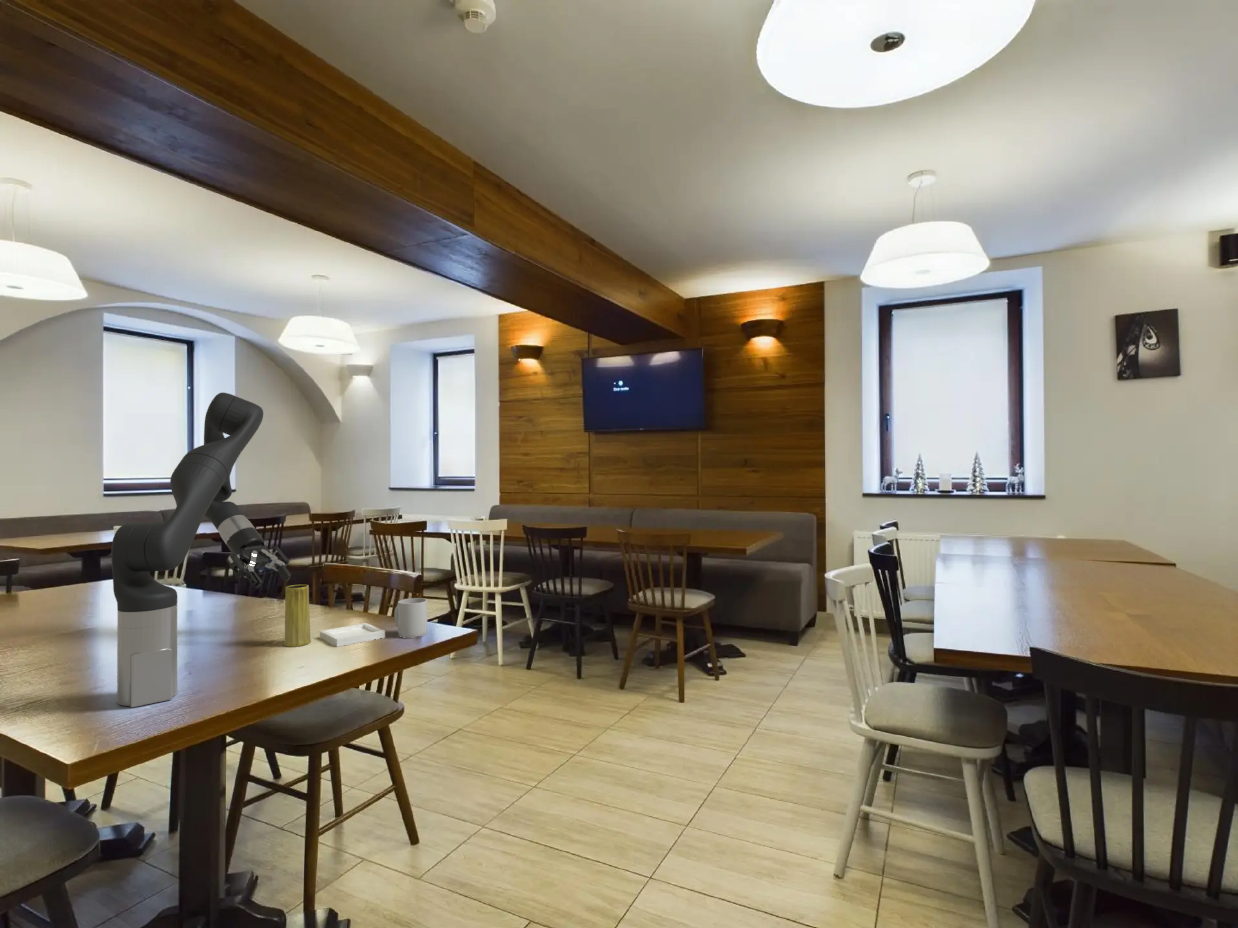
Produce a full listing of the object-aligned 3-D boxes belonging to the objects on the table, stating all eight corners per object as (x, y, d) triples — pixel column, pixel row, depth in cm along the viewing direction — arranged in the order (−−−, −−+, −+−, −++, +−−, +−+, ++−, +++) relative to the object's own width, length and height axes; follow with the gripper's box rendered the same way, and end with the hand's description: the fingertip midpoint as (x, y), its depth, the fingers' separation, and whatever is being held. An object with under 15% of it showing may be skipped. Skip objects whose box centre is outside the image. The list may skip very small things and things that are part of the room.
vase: (286, 648, 156) (286, 589, 156) (280, 643, 161) (280, 586, 161) (313, 644, 160) (313, 586, 160) (307, 639, 165) (307, 583, 165)
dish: (385, 637, 166) (385, 630, 166) (337, 646, 157) (337, 639, 157) (366, 629, 174) (366, 622, 174) (319, 637, 166) (319, 630, 166)
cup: (412, 640, 164) (411, 604, 164) (384, 635, 168) (384, 600, 168) (433, 633, 170) (433, 599, 170) (406, 629, 175) (406, 596, 175)
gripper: (257, 542, 176) (289, 587, 172) (207, 549, 163) (241, 597, 159) (271, 523, 174) (304, 568, 170) (222, 529, 161) (256, 577, 157)
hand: (274, 582), depth 164 cm, fingers open, 8 cm apart
